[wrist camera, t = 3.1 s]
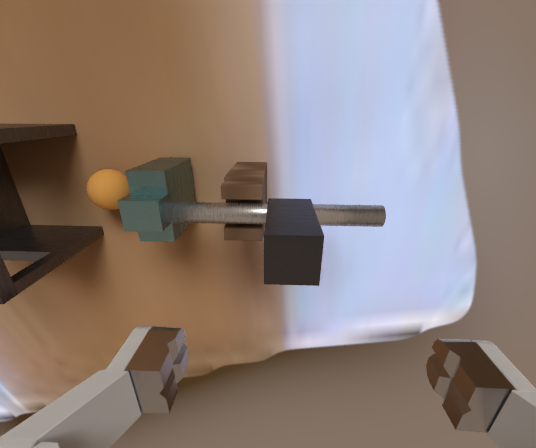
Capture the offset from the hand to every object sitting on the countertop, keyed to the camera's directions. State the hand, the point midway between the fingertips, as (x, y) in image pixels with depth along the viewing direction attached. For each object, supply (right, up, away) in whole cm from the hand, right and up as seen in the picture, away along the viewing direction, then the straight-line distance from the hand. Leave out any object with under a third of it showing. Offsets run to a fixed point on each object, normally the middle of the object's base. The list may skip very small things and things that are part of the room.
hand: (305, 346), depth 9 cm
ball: (-17, +8, +17) cm, 25 cm away
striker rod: (-2, +8, +18) cm, 20 cm away
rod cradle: (-3, +8, +19) cm, 21 cm away
